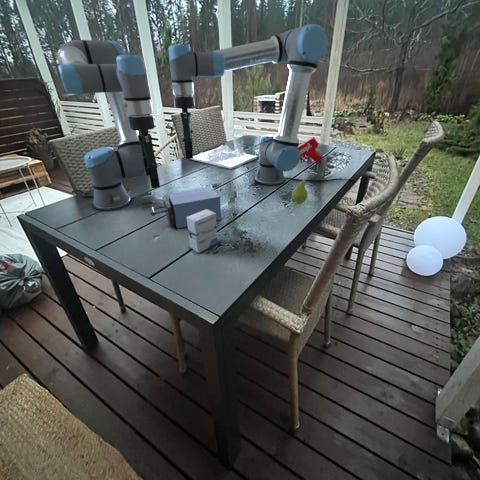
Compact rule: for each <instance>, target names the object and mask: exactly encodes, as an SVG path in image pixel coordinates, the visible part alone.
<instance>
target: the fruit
mask: <svg viewBox="0 0 480 480" xmlns="http://www.w3.org/2000/svg"><path fill="white" fill-rule="evenodd" d="M310 177H311V175H310V174H309V175H308V176H307V177H305V179H301V180H302V181H299V182H298V184H297V185H296V186H295V187H294V188H293V190H292V191H291V198H292V200H293V201H294V202H295V203H297V204H301V203H304V202H305V201H306V200H307V198H308V196H309V195H308V190H307V189H306V184H305V183H306V181H305V180H308V179H309V178H310Z"/></svg>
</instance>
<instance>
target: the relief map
mask: <svg viewBox="0 0 480 480" xmlns="http://www.w3.org/2000/svg"><path fill="white" fill-rule="evenodd" d="M256 159H258V155H256V154H249V153H246V152H245V151H244V149H242V148H238V149H235V150H233V149H231V148H230V147H229V146H228V145H227V144H225V145H224V144H221V145H220V146H219V147H216V148H213V149H210V150H208V151H204V152H202V151H201V152H200V153H198V154H196V155H193V158H191V159H190V160H193V161H196V162H201V163H204V164H209V165H214V166H217V167H222V168H226V169H230V170H233V169H235V168H237V167H240V166H241V165H244V164H247V163H250V162H252V161H254V160H256Z"/></svg>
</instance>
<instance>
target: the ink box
mask: <svg viewBox="0 0 480 480" xmlns="http://www.w3.org/2000/svg"><path fill="white" fill-rule="evenodd" d="M187 225H188V226H187V233H188V239H189V247H190V248H191V249H192V250H193V251H195V252H196V253H198V254H199V253H201V252H203V251H205V250H207V249H209V248H211V247H213V246H214V245H215V246H216V244H218V243H219V242H218V241H219V240H218V239H219V238H218V227H217V220H216V213H214V212H212V211H210V210H208V209H206V210H203V211H201V212H198V213H195V214H193V215H190V216H188V217H187Z"/></svg>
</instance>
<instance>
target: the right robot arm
mask: <svg viewBox="0 0 480 480" xmlns="http://www.w3.org/2000/svg"><path fill="white" fill-rule="evenodd" d="M326 33H327V32H326V30H325V29H324V28H323V27H322V26H321V25H319V24H315V23H313V24H310V23H307V24H305V25H303V26H302V25H301V26H299V27H294V28H292V29H289V30H287V31H284V32H282V33H279V34H275V35H272V36H271V37H270V39H265V40H261V41H260V40H259V41H256V42H250V43H246V44H241V45H235V46H231V47H224V48H221V49H216V50H212V51H192V50H191V46H190V45H189V44H178V43H177V44H170V45H169V46H168V63H169V69H170V70H169V71H170V77H171V78H170V79H171V84H172V85H170V89H172V93H173V103H174V104H173V105H174V108H176V109H181V112H180V113H179V115H180V119H181V125H182V132H183V138H182V140H181V141H182V143H184V153H185V159H186V160H187V159H189V160H192V159H191V158H193V156H194V153H193V150H194V146H193V135H192V134H193V133H194V131H193V129H192V128H191V124H192V120H191V119H192V112H191V111H190V109H193V108H195V106H196V103H195V97H194V94H195V89H194V80H193V78H198V77H199V78H219V77H223V76H224V75H225V72H228V71H233V70H237V69H242V68H246V67H252V66H255V65H256V66H257V65H261V64H266V63H271V62H272V63H273V64H279V63H287V64H286V65H287V68H288V69H289V75H288V80H287V85H286V91H285V95H284V100H283V106H282V110H281V115H280V120H279V126H278V132H277V134H266V135H265V134H263V135H261V136H260V138H259V143H258V145H259V153H258V157H259V158H258V167H257V171H256V174H255V177H254V181H255V183H258V184H259V185H262V186H263V185H264V186H279V185H281V184H283V183H284V181H285V180H290V181H297V182H301V181H302V180H303V179H302V178H301V179H300V178H291V177H287V176H285V175H284V172H289V171H292V170H294V169H295V168H296V167H297V166H298V164H299V163H300V161H301V158H300V152H299V150H298V147H299V146H300V140H299V138H298V133H299V130H300V125H301V121H302V116H303V113H304V109H305V104H306V99H307V94H308V91H309V87H310V82H311V77H312V74H314V73H315V72H316V71H317V70H318V64H319V62H320V61H321V60H322V59H323V58H324V56H326V53H327V50H328V44H329V40H328V35H327V34H326ZM342 178H343V177H341V178H340V177H339V178H338V177H337V178H331V179H306V180H305V179H304V180H305V182H330V181H343V180H344V181H345V179H342ZM348 178H349V177H348ZM347 180H349V181H350V182H354V180H353V179H352V178H349V179H347Z"/></svg>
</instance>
